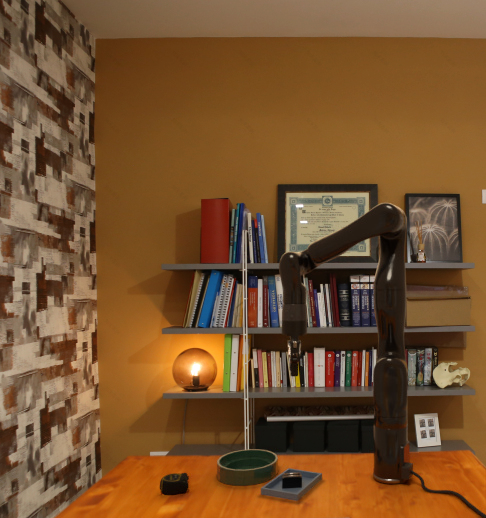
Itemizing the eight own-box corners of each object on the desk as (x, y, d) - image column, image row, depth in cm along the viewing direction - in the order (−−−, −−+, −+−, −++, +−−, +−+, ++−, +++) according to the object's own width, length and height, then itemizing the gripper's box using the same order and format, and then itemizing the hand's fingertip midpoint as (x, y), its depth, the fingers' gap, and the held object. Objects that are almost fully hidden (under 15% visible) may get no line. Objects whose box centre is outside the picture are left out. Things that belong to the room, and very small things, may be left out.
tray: (322, 481, 132) (322, 473, 132) (297, 503, 118) (297, 494, 118) (288, 475, 135) (288, 468, 135) (260, 496, 122) (260, 488, 122)
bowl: (287, 469, 140) (288, 453, 140) (257, 492, 124) (257, 473, 125) (239, 462, 145) (239, 446, 145) (204, 482, 130) (204, 465, 130)
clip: (301, 483, 128) (301, 471, 128) (301, 487, 126) (302, 475, 126) (282, 485, 127) (282, 472, 128) (282, 488, 125) (282, 476, 125)
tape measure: (188, 496, 122) (188, 480, 122) (158, 499, 120) (158, 483, 120) (188, 485, 128) (189, 470, 129) (160, 488, 126) (161, 473, 126)
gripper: (308, 320, 140) (308, 377, 139) (305, 317, 154) (305, 369, 154) (282, 320, 139) (281, 378, 138) (281, 317, 153) (280, 369, 152)
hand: (293, 373), depth 146 cm, fingers open, 8 cm apart
